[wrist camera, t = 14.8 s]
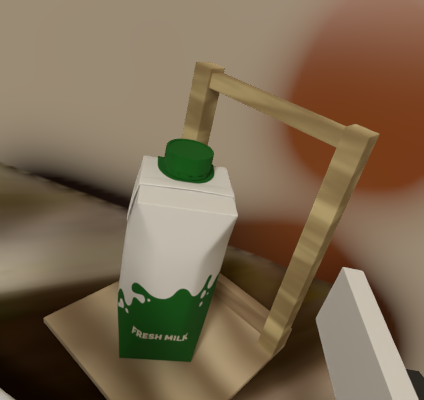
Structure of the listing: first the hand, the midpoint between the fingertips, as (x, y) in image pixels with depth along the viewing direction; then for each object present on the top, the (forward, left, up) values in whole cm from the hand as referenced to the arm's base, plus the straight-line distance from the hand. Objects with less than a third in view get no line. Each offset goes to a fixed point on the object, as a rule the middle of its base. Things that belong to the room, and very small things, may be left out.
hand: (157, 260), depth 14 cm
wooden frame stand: (-10, +15, -25) cm, 30 cm away
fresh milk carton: (-11, +14, -24) cm, 30 cm away
